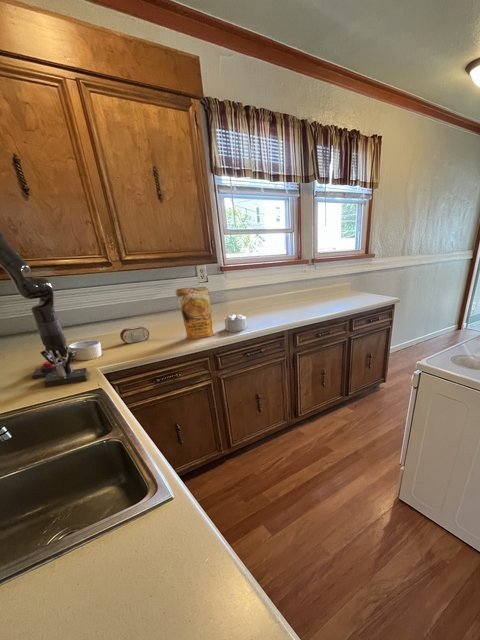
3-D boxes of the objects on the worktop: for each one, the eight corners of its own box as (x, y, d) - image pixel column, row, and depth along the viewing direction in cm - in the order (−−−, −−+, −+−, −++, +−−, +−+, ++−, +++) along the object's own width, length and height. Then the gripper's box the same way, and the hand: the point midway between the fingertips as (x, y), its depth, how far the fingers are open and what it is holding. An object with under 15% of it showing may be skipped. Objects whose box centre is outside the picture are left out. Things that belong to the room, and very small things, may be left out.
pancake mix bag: (182, 337, 192) (173, 288, 179) (213, 333, 201) (207, 285, 188) (185, 340, 187) (176, 289, 174) (217, 335, 196) (211, 287, 183)
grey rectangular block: (63, 376, 132) (59, 364, 129) (59, 376, 132) (55, 364, 129) (72, 371, 136) (68, 359, 134) (68, 371, 137) (64, 359, 134)
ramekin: (69, 357, 161) (64, 344, 158) (97, 351, 170) (93, 338, 167) (78, 364, 153) (74, 349, 150) (108, 356, 162) (104, 343, 159)
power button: (43, 368, 138) (42, 364, 137) (45, 365, 141) (43, 362, 140) (53, 367, 140) (52, 363, 139) (55, 364, 143) (53, 360, 142)
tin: (149, 338, 190) (146, 324, 186) (151, 340, 188) (148, 325, 184) (122, 344, 181) (118, 329, 177) (124, 345, 179) (120, 330, 175)
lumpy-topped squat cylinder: (224, 328, 211) (222, 315, 207) (243, 326, 217) (242, 312, 213) (229, 332, 203) (228, 318, 199) (249, 329, 209) (248, 315, 205)
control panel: (46, 388, 129) (43, 381, 127) (50, 379, 136) (47, 372, 135) (87, 382, 134) (85, 374, 133) (88, 373, 142) (86, 367, 141)
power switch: (33, 380, 136) (30, 371, 134) (37, 373, 143) (34, 364, 141) (67, 375, 141) (64, 366, 139) (69, 368, 148) (66, 360, 146)
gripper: (74, 329, 129) (87, 370, 137) (41, 329, 130) (56, 369, 138) (61, 335, 122) (76, 377, 130) (26, 334, 123) (43, 377, 131)
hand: (65, 373), depth 134 cm, fingers closed on grey rectangular block, 2 cm apart
